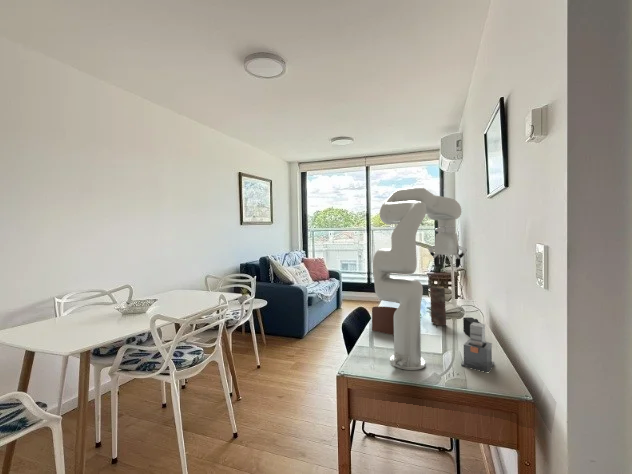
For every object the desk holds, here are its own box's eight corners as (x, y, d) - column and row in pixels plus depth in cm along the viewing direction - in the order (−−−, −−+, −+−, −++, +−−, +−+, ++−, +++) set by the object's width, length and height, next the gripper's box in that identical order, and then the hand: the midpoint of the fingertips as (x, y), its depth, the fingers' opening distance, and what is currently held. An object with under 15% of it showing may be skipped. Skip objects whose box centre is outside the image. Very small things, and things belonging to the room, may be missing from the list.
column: (482, 366, 113) (482, 327, 112) (469, 362, 116) (469, 325, 115) (485, 361, 116) (485, 324, 116) (473, 358, 119) (472, 322, 119)
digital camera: (484, 338, 144) (484, 323, 143) (472, 338, 144) (472, 323, 144) (474, 331, 154) (474, 317, 154) (463, 331, 154) (463, 317, 154)
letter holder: (412, 341, 143) (411, 310, 142) (371, 333, 154) (371, 305, 154) (418, 334, 151) (418, 305, 151) (379, 328, 162) (379, 301, 162)
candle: (428, 324, 167) (427, 286, 167) (435, 321, 172) (434, 284, 171) (442, 327, 161) (441, 288, 161) (448, 324, 166) (448, 286, 166)
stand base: (488, 373, 109) (488, 350, 109) (460, 366, 115) (460, 345, 115) (494, 364, 116) (494, 343, 116) (468, 358, 122) (467, 338, 122)
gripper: (425, 231, 153) (426, 266, 153) (463, 230, 141) (464, 268, 142) (431, 230, 158) (431, 264, 159) (468, 230, 147) (468, 266, 147)
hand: (447, 266), depth 150 cm, fingers open, 9 cm apart
